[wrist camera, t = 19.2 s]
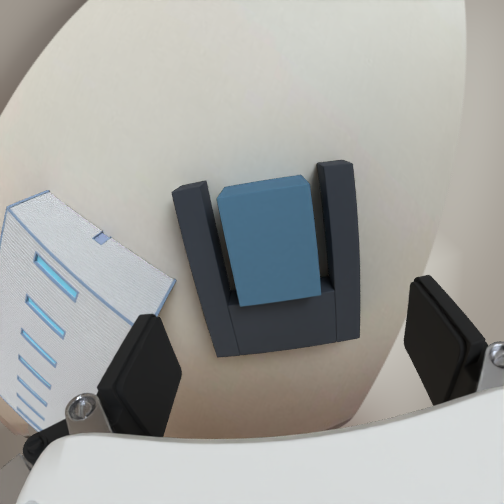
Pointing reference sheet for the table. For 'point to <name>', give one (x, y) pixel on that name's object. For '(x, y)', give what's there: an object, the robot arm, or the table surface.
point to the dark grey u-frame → (284, 312)
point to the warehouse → (64, 305)
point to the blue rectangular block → (271, 240)
